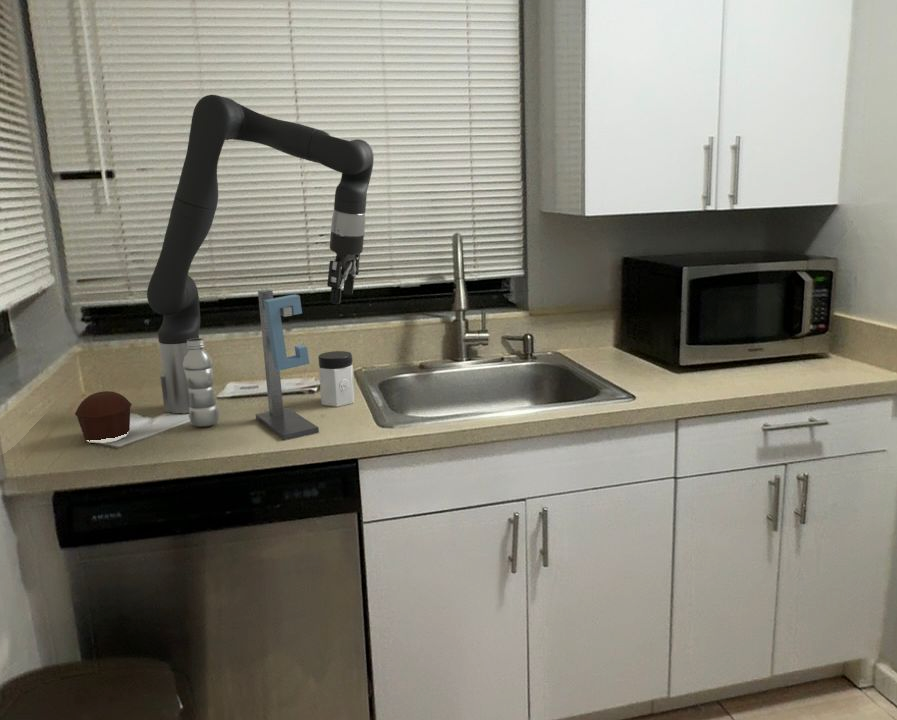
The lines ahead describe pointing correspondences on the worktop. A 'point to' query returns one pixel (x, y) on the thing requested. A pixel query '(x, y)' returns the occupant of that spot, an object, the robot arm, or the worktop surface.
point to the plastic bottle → (200, 384)
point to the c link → (277, 333)
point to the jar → (336, 378)
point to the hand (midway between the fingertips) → (341, 298)
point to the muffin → (104, 415)
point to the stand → (278, 387)
